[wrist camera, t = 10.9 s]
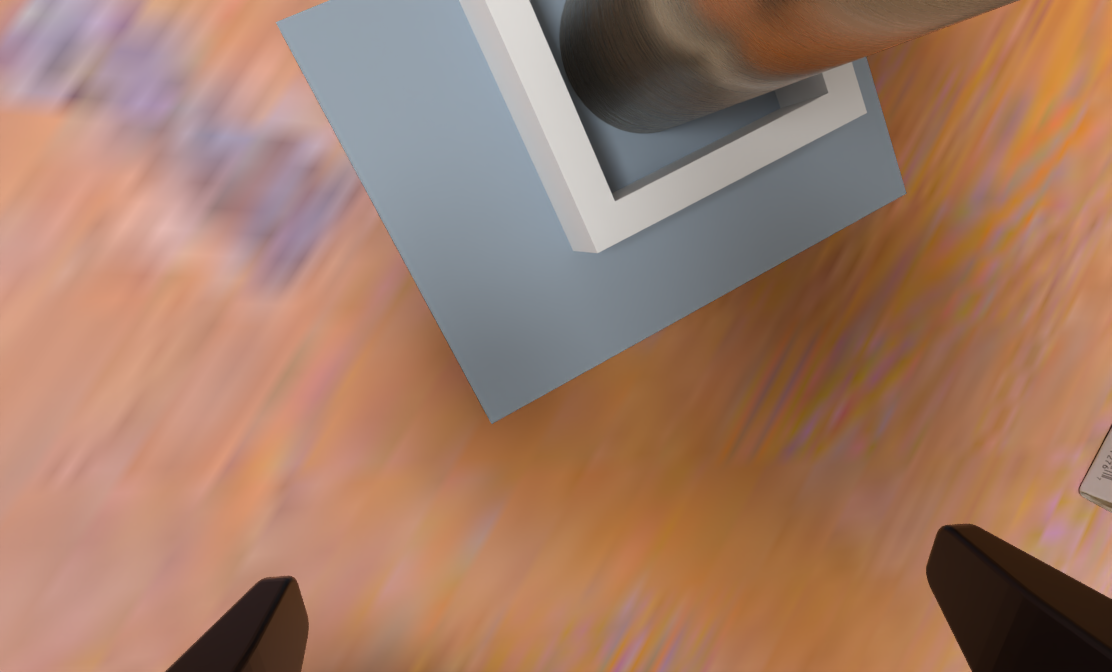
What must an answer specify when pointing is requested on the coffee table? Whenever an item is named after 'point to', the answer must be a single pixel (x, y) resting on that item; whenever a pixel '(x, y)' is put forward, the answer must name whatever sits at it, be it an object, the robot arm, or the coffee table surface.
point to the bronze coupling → (726, 49)
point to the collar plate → (572, 182)
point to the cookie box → (1100, 477)
